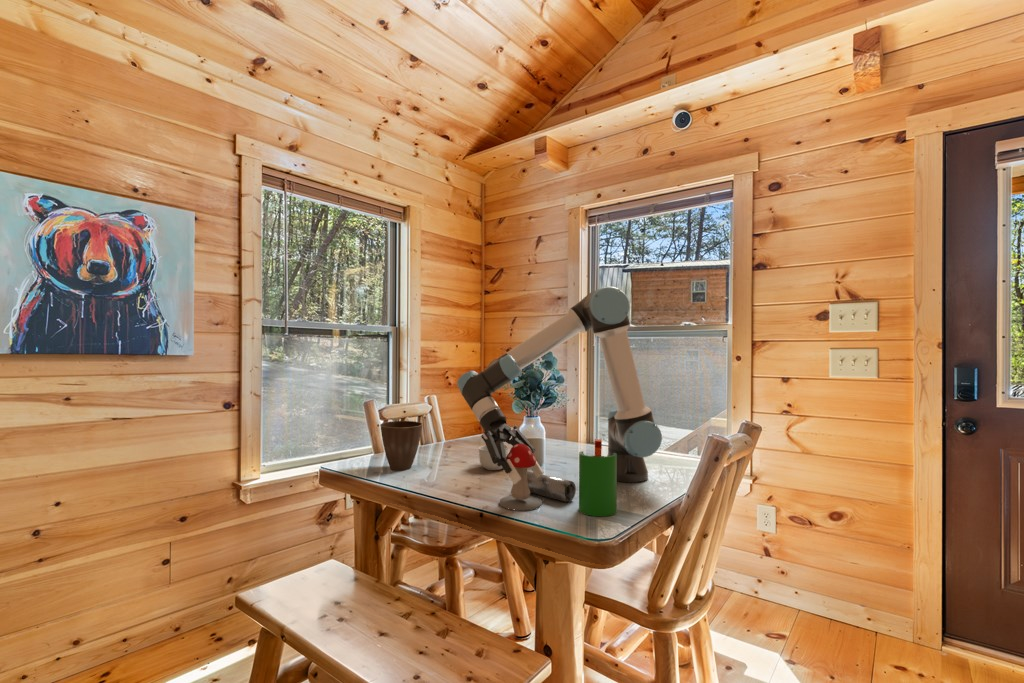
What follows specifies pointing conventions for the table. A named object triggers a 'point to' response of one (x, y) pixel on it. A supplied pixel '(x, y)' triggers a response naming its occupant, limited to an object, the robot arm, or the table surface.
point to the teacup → (489, 458)
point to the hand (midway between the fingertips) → (529, 478)
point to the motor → (597, 483)
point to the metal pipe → (551, 487)
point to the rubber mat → (521, 503)
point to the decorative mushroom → (521, 469)
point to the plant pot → (401, 442)
